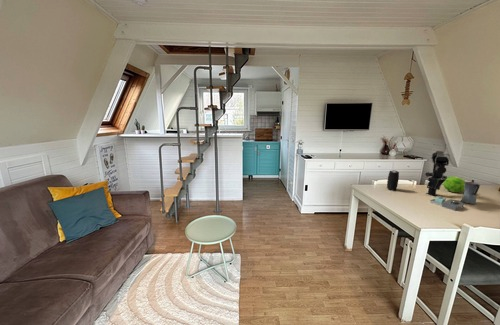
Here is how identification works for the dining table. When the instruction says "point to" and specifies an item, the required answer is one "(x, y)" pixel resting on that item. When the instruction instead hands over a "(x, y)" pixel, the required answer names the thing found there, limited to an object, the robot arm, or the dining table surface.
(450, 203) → the square frame
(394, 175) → the portable speaker
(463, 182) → the lettuce
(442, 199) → the mint block with knob
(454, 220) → the dining table surface
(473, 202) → the moka pot
